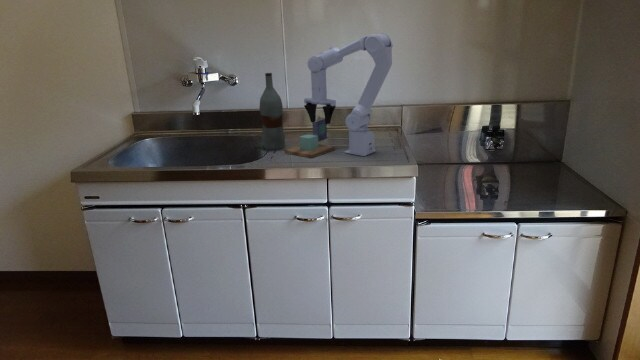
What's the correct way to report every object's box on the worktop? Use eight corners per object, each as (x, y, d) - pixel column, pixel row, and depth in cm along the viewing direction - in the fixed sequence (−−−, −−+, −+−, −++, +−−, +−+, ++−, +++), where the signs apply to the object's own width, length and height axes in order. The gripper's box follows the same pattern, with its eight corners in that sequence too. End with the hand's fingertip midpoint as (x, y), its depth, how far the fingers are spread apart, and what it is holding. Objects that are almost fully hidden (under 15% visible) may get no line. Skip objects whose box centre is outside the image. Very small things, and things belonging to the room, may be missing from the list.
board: (334, 149, 174) (334, 146, 174) (311, 158, 164) (311, 154, 164) (308, 145, 183) (308, 142, 183) (284, 153, 173) (284, 149, 173)
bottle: (260, 150, 178) (254, 74, 168) (264, 144, 187) (258, 72, 177) (283, 150, 177) (278, 73, 168) (286, 144, 186) (281, 71, 176)
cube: (318, 148, 173) (317, 135, 172) (309, 150, 170) (309, 138, 168) (308, 146, 176) (308, 134, 175) (300, 149, 173) (299, 136, 171)
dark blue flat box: (316, 142, 187) (315, 117, 184) (311, 141, 189) (309, 117, 185) (328, 137, 194) (327, 113, 191) (322, 137, 196) (322, 113, 192)
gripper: (298, 88, 171) (300, 122, 176) (327, 90, 162) (328, 126, 167) (310, 86, 176) (311, 119, 181) (338, 87, 167) (339, 123, 172)
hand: (320, 122), depth 174 cm, fingers open, 7 cm apart
